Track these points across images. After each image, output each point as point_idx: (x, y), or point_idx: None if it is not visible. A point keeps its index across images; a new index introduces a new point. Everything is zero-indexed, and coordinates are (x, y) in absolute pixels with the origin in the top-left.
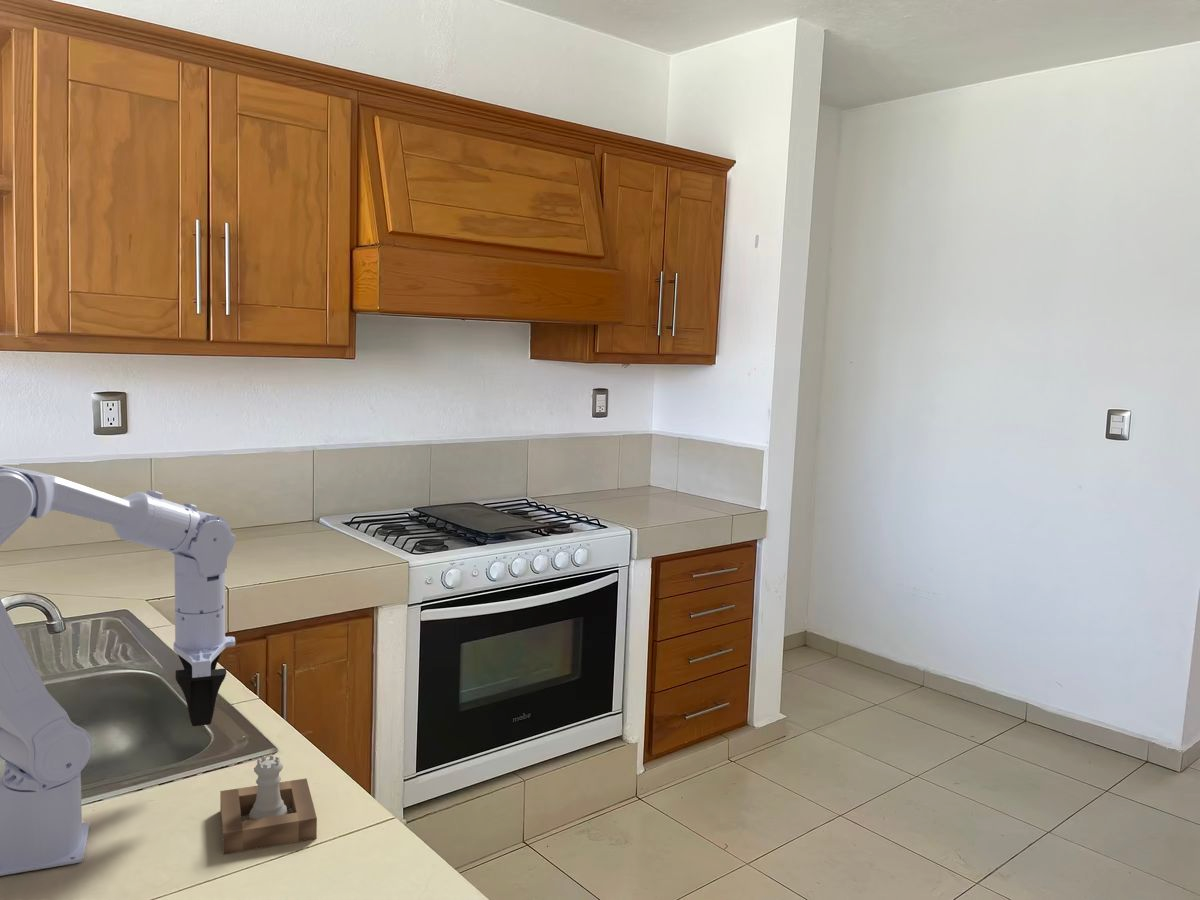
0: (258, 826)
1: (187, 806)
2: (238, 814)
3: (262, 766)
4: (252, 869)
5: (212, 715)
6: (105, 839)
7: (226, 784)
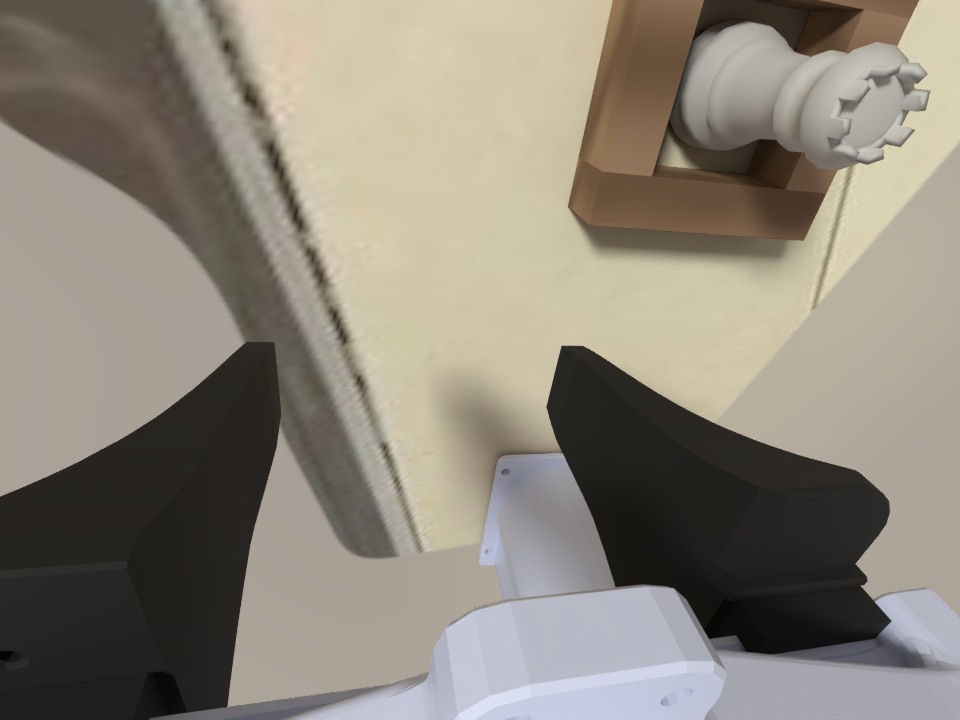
0: None
1: (502, 282)
2: (746, 192)
3: (874, 143)
4: (862, 168)
5: (605, 361)
6: None
7: (414, 169)
